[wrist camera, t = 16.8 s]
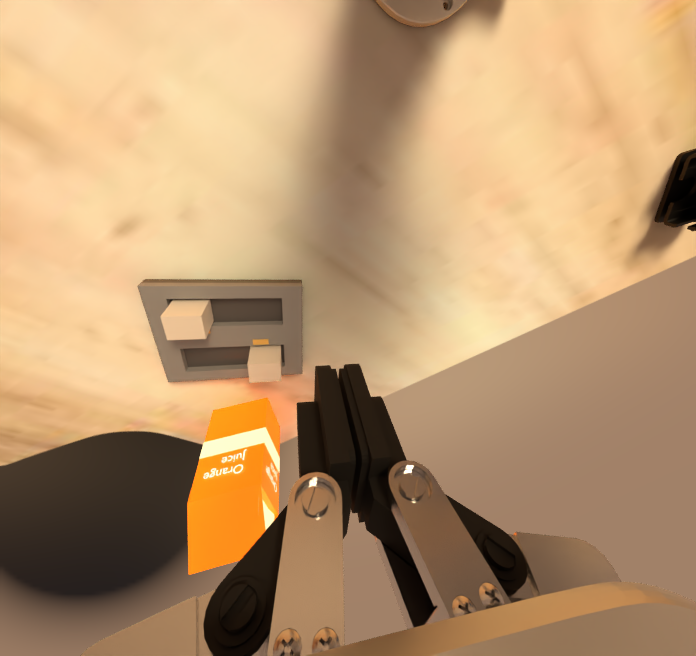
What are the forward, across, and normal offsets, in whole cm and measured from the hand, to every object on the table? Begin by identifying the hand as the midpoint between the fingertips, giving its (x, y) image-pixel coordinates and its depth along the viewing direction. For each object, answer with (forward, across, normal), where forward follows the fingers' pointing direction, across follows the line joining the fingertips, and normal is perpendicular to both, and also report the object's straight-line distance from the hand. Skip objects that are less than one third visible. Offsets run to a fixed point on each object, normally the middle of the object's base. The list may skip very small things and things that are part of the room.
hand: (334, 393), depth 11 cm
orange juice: (+27, +9, +31) cm, 42 cm away
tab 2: (+26, +5, +17) cm, 31 cm away
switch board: (+27, +9, +13) cm, 31 cm away
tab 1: (+26, +13, +10) cm, 30 cm away
